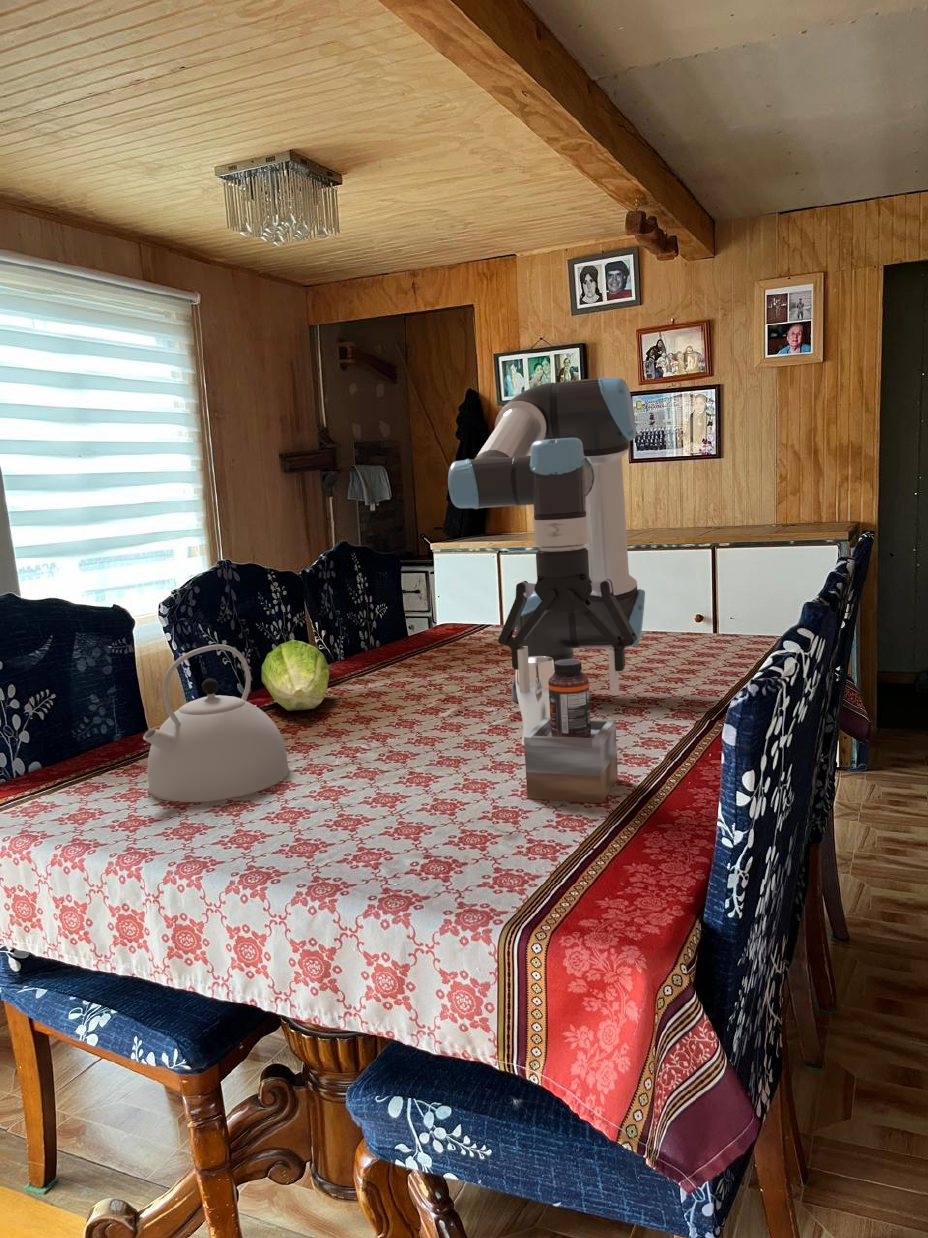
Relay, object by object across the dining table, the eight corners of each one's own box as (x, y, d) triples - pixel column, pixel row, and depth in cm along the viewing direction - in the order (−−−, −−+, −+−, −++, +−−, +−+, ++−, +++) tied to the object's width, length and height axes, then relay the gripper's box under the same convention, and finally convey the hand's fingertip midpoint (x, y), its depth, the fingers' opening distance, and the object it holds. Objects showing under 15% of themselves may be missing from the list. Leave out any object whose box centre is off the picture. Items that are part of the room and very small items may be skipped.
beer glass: (562, 738, 166) (558, 655, 164) (553, 749, 159) (549, 663, 157) (525, 737, 168) (520, 655, 166) (514, 748, 162) (509, 663, 160)
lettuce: (341, 723, 191) (268, 738, 189) (332, 690, 215) (267, 703, 212) (329, 656, 188) (254, 670, 185) (321, 629, 211) (254, 642, 209)
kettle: (201, 816, 138) (184, 667, 135) (107, 795, 151) (89, 658, 148) (317, 767, 159) (305, 637, 155) (225, 753, 171) (212, 632, 168)
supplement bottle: (547, 732, 141) (543, 659, 139) (586, 729, 141) (583, 656, 139) (554, 743, 135) (550, 666, 133) (595, 740, 135) (592, 663, 134)
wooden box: (548, 774, 146) (545, 717, 145) (617, 778, 142) (615, 720, 141) (527, 798, 136) (523, 737, 135) (601, 803, 132) (598, 740, 131)
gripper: (471, 553, 135) (480, 695, 138) (643, 547, 126) (649, 700, 129) (488, 547, 142) (497, 683, 145) (653, 542, 133) (658, 687, 136)
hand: (569, 692), depth 137 cm, fingers open, 13 cm apart
